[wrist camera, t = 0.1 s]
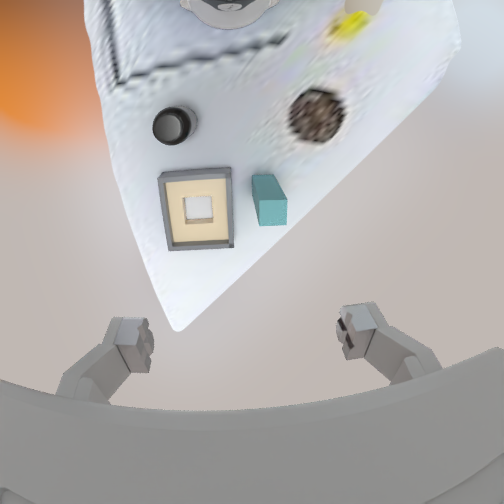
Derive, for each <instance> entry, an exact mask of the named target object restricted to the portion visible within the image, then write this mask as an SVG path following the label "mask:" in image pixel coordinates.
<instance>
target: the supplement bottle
mask: <svg viewBox="0 0 504 504" xmlns="http://www.w3.org/2000/svg"><path fill="white" fill-rule="evenodd" d="M196 127H197V117H196V115H195V113H194V112H193V111H192V110H191V109H189V108H187V107H184V106H175V107H168V108H165V109H163V110H162V111H160V112H159V113H158V114H157V115H156V117H155V119H154V121H153V129H152V130H153V133H154V136H155V137H156V138H157V140H158V141H160V142H161V143H163V144H165V145H177V144H179V143H182V142H183V141H184V140H186V139H187V138H188V137H190V136H191V135H192V134H193V133H194V131H195V129H196Z"/></svg>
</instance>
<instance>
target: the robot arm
mask: <svg viewBox="0 0 504 504" xmlns="http://www.w3.org/2000/svg"><path fill="white" fill-rule="evenodd" d="M278 3H279V0H180V5H181V7H183V8H184V9H186V10H189V11H192V12H193V13H194V14H195V15H196V16H197V17H198V18H199V19H200V20H201V21H202V22H204V23H205V24H207V25H209V26H212V27H215V28H219V29H237V28H241V27H245V26H247V25H250V24H251V23H253V22H255V21H256V20H257V19H259V18H260V17H261V16H262V14H263V13H264V12H265V11H266V10H267V9H269V8H271V7H273V6H275V5H277V4H278ZM340 315H341V317H340V319H339V320H338V321H337V325H336V332H337V337H338V340H339V341H340V342H341V343H343V347H342V350H343V353H344V355H345V358H346V360H351V359H358V358H363V357H364V359H366V360H367V361H368V362H369V363H370V364H371V365H372V366H374V367H375V368H376V369H377V370H378V371H379V372H381V373H382V374H383V375H384V376H385V377H386V378H388V379H389V380H390V381H391V383H390V385H389V386H387V387H384V388H380V389H376V390H372V391H368V392H363V393H359V394H354V395H350V396H345V397H339V398H334V399H329V400H324V401H317V402H311V403H304V404H297V405H289V406H280V407H271V408H259V409H245V410H225V411H181V410H180V411H179V410H157V409H143V408H133V407H124V406H116V405H111V404H110V402H109V401H108V400H109V398H110V397H111V396H112V395H113V394H114V393H115V391H116V390H117V389H118V388H119V387H120V385H121V384H122V383H123V382H124V381H125V380H126V378H127V377H128V376H129V375H130V374H131V372H132V373H149V369H150V364H151V359H150V357H149V356H150V355H151V354H152V353H153V350H154V339H153V334H152V332H151V331H150V330H149V329H148V326H149V323H148V320H147V318H139V317H138V318H137V317H113V318H112V319H111V322H110V324H109V327H108V329H107V332H106V334H105V337H104V340H103V342H102V344H98V345H97V346H96V347H95V348H93V349H92V350H91V351H90V352H89V353H87V354H86V355H85V356H84V357H82V358H81V359H80V360H79V361H78V362H76V363H75V364H74V365H73V366H72V367H70V368H69V369H68V370H67V371H65V372H64V373H63V376H62V378H61V381H60V384H59V386H58V389H57V392H56V394H55V395H54V394H49V393H45V392H41V391H37V390H34V389H30V388H26V387H23V386H20V385H16V384H13V383H10V382H7V381H4V380H1V379H0V504H504V350H503V349H501V348H499V347H495V348H492V349H489V350H487V351H485V352H483V353H481V354H478V355H476V356H474V357H471V358H469V359H467V360H464V361H462V362H459V363H457V364H455V365H452V366H450V367H447V368H444V369H443V368H442V367H441V365H440V363H439V361H438V360H437V358H436V356H435V354H434V353H433V351H432V350H431V349H430V348H428V347H426V346H425V345H423V344H421V343H420V342H418V341H416V340H415V339H413V338H411V337H410V336H408V335H406V334H405V333H403V332H401V331H400V330H398V329H396V328H395V327H393V326H389V325H388V323H387V321H386V320H385V318H384V316H383V315H382V313H381V312H380V310H379V308H378V307H377V305H376V303H375V302H367V303H361V304H353V305H346V306H342V307H341V308H340Z"/></svg>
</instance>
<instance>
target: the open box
mask: <svg viewBox="0 0 504 504" xmlns="http://www.w3.org/2000/svg"><path fill="white" fill-rule="evenodd" d="M157 179H158V186H159V194H160V201H161V208H162V215H163V221H164V227H165V233H166V239H167V245H168V251H181V250H201V249H221V248H234V234H233V213H232V190H231V168H212V169H197V170H184V171H173V172H163V173H162V174H161V175H160V176H159V177H158V178H157ZM199 196H212V209H213V218H208V219H191V220H187V218H186V210H185V201H184V198H185V197H199Z"/></svg>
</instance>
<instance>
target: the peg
mask: <svg viewBox="0 0 504 504" xmlns="http://www.w3.org/2000/svg"><path fill="white" fill-rule="evenodd" d="M252 196H253V200H254V204H255V209H256V213H257V218H258V222H259V226H275V225H286V223H287V198H286V196H285V194H284V192H283V191H282V189H281V187H280V185H279V183H278V182H277V180H276V178H275V176H274V175H252Z"/></svg>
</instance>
